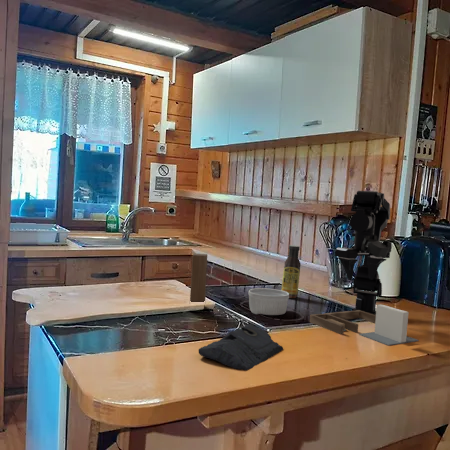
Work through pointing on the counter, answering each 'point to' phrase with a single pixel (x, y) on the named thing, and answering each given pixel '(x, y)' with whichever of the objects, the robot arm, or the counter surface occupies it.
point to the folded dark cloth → (242, 348)
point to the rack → (341, 320)
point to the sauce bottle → (291, 272)
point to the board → (391, 323)
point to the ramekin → (268, 301)
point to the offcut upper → (336, 322)
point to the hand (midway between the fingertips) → (360, 280)
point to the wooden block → (198, 277)
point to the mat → (386, 339)
